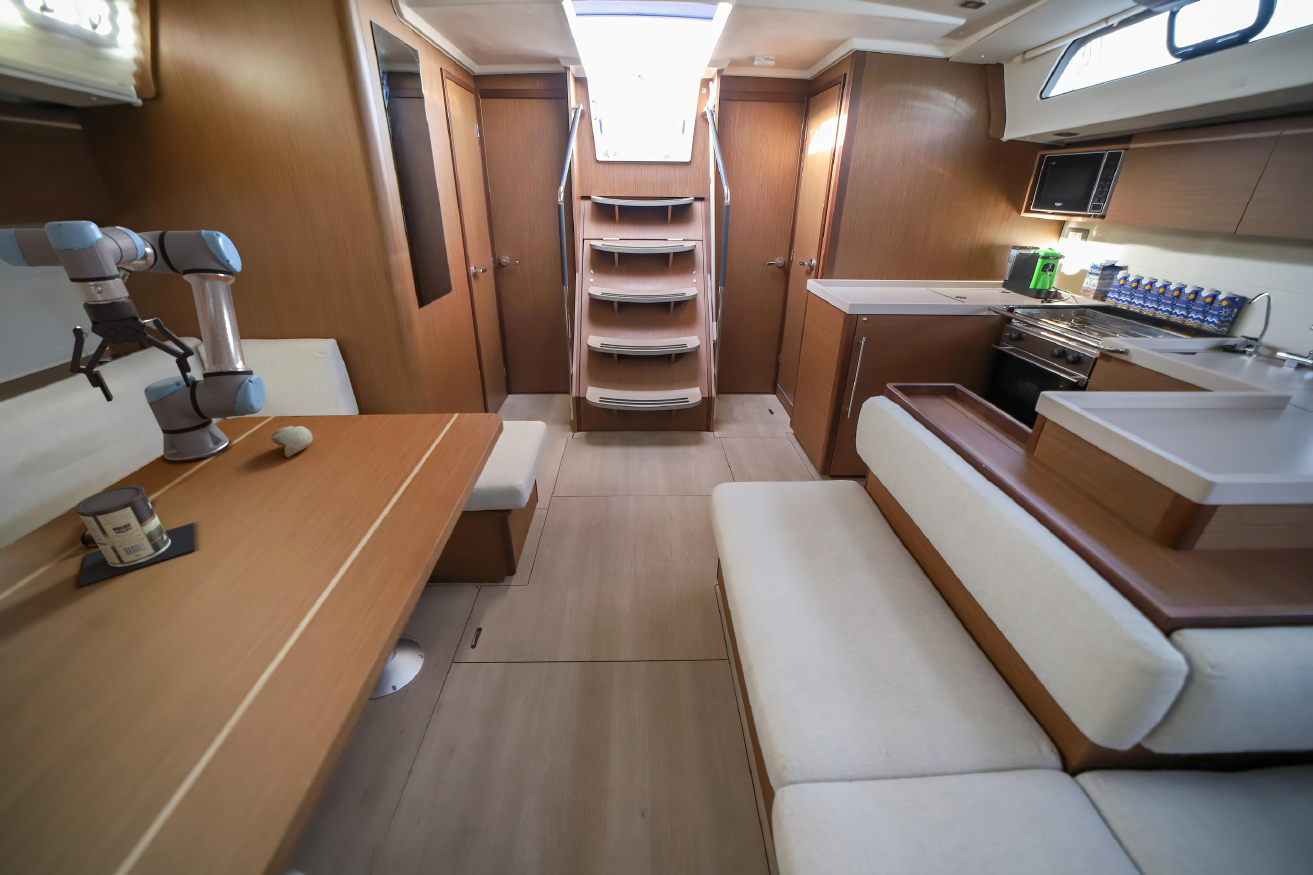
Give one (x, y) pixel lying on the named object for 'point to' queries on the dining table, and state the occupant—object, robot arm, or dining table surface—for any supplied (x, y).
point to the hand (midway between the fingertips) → (151, 392)
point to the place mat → (100, 569)
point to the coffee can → (124, 525)
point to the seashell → (292, 439)
